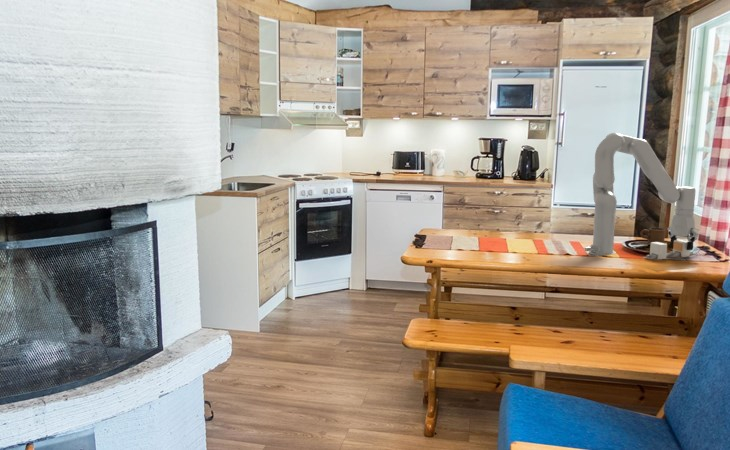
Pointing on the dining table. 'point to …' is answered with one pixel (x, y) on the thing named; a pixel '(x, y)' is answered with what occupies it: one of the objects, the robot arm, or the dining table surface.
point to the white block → (658, 249)
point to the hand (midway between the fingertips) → (681, 247)
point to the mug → (654, 235)
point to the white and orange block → (681, 248)
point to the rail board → (668, 256)
